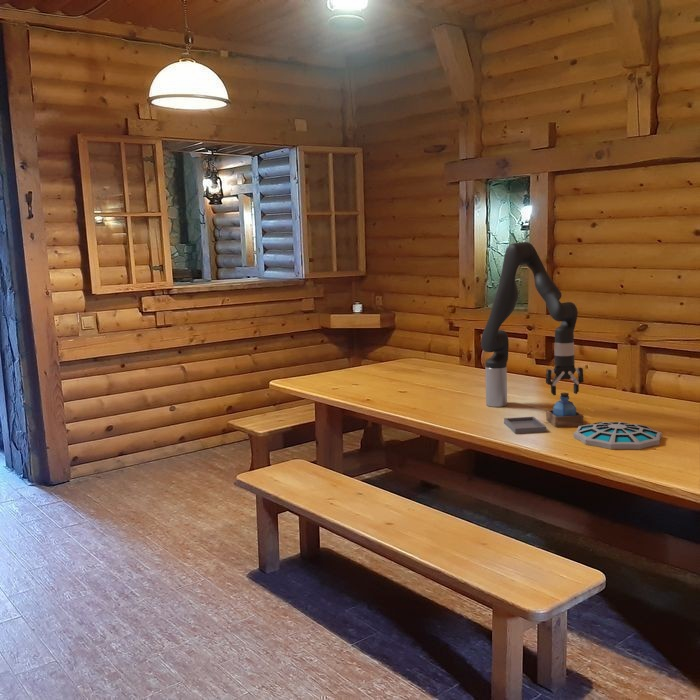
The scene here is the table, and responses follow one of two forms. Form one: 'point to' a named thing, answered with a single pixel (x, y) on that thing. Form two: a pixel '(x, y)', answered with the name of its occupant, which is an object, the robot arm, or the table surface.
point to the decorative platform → (618, 435)
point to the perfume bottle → (564, 406)
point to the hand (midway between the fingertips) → (564, 394)
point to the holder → (564, 419)
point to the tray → (524, 425)
